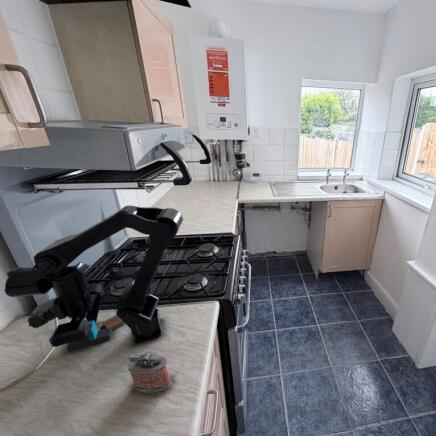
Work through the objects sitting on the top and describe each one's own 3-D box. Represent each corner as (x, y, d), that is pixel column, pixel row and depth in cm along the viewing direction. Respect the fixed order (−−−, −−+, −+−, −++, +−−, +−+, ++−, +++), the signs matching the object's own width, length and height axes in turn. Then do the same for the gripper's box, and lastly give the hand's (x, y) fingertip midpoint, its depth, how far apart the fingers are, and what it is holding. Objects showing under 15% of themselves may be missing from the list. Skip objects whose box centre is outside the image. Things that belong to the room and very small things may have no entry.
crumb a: (102, 324, 69) (101, 321, 69) (99, 334, 66) (98, 331, 66) (85, 328, 68) (84, 325, 67) (81, 339, 64) (80, 336, 64)
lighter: (174, 377, 56) (167, 348, 52) (167, 392, 53) (159, 362, 49) (139, 377, 56) (130, 348, 52) (131, 392, 53) (120, 362, 49)
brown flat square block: (124, 323, 70) (123, 320, 69) (108, 332, 67) (107, 329, 66) (118, 317, 72) (118, 314, 72) (103, 325, 69) (102, 322, 69)
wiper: (112, 331, 67) (107, 316, 65) (110, 339, 65) (105, 324, 63) (72, 341, 64) (66, 327, 62) (68, 351, 61) (61, 335, 59)
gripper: (45, 275, 62) (64, 319, 68) (3, 327, 47) (33, 379, 53) (97, 266, 67) (111, 308, 73) (74, 311, 51) (94, 360, 57)
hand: (89, 334), depth 64 cm, fingers open, 7 cm apart
